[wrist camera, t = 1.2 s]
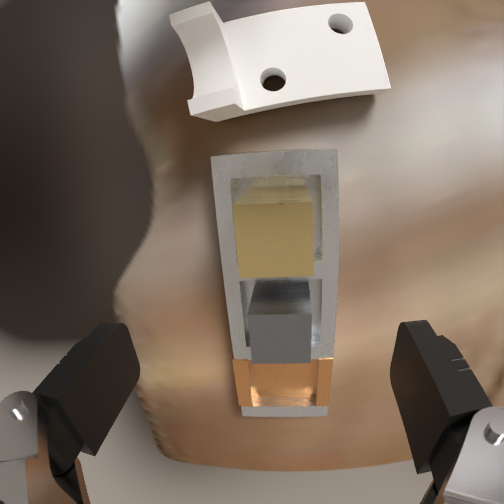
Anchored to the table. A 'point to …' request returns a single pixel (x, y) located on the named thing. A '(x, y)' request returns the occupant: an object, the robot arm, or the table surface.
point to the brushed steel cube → (280, 323)
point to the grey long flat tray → (282, 279)
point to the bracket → (279, 57)
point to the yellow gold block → (274, 232)
